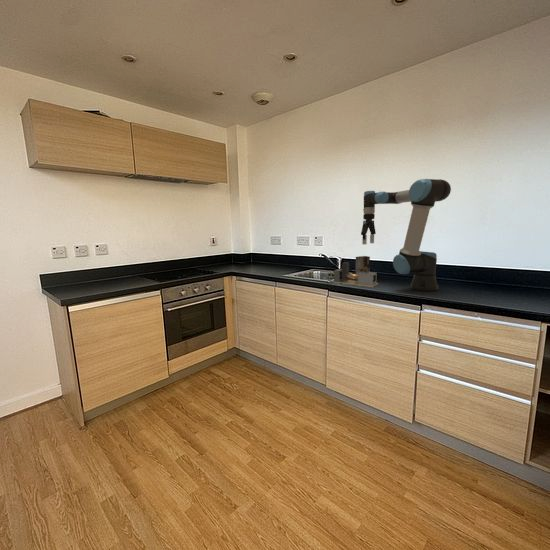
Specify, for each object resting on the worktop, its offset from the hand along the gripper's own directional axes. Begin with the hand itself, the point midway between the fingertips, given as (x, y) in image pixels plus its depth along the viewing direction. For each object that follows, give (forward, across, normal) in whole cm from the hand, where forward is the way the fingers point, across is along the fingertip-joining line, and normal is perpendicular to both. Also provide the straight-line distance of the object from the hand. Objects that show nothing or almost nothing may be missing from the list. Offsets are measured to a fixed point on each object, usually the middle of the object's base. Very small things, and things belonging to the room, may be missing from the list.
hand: (368, 243), depth 205 cm
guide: (+27, +16, -3) cm, 31 cm away
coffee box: (+27, -11, -9) cm, 30 cm away
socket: (+27, +16, -15) cm, 34 cm away
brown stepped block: (+25, +16, -6) cm, 30 cm away
